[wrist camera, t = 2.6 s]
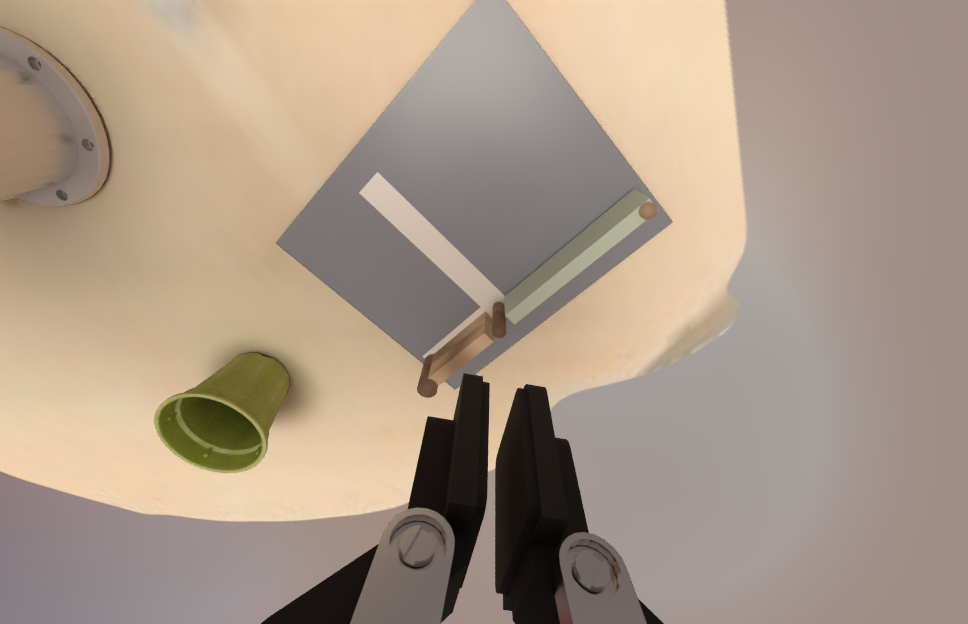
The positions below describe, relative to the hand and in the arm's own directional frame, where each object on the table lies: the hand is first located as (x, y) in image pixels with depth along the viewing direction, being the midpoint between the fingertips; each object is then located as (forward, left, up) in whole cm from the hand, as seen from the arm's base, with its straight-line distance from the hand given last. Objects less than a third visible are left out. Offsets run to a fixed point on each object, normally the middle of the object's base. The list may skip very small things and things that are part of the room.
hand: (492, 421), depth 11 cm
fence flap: (+2, -7, -25) cm, 26 cm away
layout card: (-3, 0, -25) cm, 25 cm away
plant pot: (-30, +4, -25) cm, 39 cm away
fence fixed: (-11, -7, -25) cm, 28 cm away
